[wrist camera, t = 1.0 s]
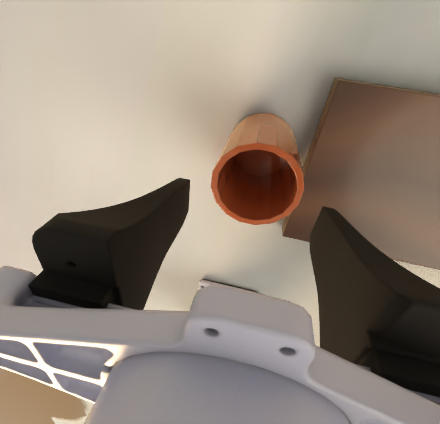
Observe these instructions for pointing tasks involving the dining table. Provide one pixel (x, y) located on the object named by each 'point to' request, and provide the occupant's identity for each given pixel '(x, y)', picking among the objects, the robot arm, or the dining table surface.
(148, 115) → the dining table surface
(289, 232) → the serving board
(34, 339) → the robot arm
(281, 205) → the tumbler
